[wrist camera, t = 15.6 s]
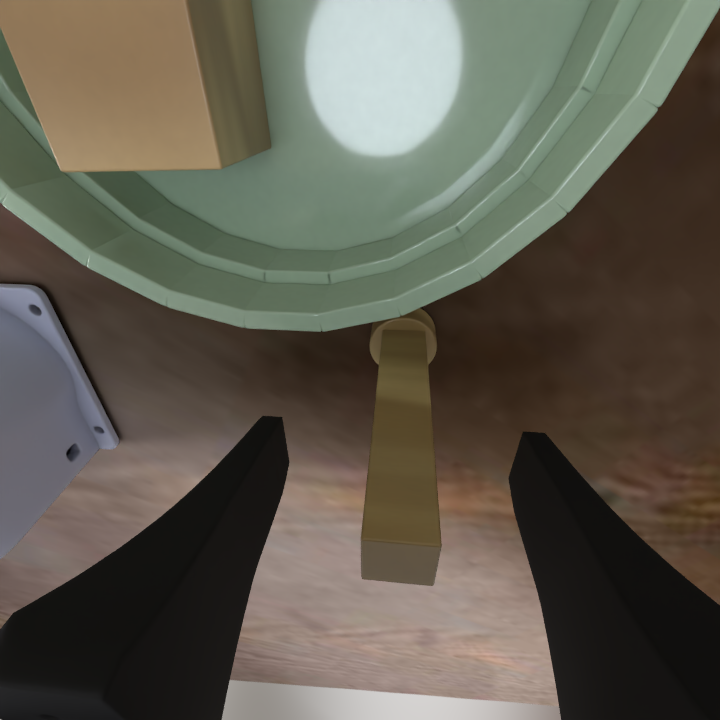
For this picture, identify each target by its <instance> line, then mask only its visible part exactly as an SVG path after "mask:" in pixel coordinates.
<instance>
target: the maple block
mask: <svg viewBox="0 0 720 720" xmlns="http://www.w3.org/2000/svg"><path fill="white" fill-rule="evenodd" d="M0 28H1V30H2V33H3V35H4V38H5V40H6V42H7V45H8V47H9V49H10V52H11V54H12V57H13V59H14V61H15V64H16V66H17V68H18V71H19V73H20V76H21V78H22V80H23V83H24V85H25V88H26V90H27V92H28V95H29V97H30V99H31V102H32V104H33V107H34V109H35V111H36V114H37V116H38V118H39V121H40V123H41V126H42V128H43V130H44V133H45V135H46V137H47V140H48V142H49V145H50V147H51V149H52V152H53V154H54V157H55V159H56V161H57V164H58V166H59V168H60V170H61V171H62V172H117V171H173V170H221V169H223V168H226V167H228V166H230V165H233V164H235V163H238V162H240V161H242V160H245V159H247V158H250V157H252V156H254V155H257V154H259V153H261V152H264V151H266V150H269V149H271V141H270V133H269V126H268V119H267V112H266V105H265V98H264V90H263V83H262V76H261V69H260V62H259V55H258V47H257V40H256V33H255V26H254V19H253V12H252V4H251V0H0Z"/></svg>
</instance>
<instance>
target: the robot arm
mask: <svg viewBox="0 0 720 720" xmlns="http://www.w3.org/2000/svg"><path fill="white" fill-rule="evenodd" d="M38 307H39V308H40V309H39V308H38ZM118 444H119V438H118V437H117V435H116V433H115V431H114V429H113V427H112V425H111V423H110V421H109V419H108V417H107V415H106V413H105V411H104V409H103V407H102V405H101V403H100V401H99V399H98V397H97V395H96V393H95V391H94V389H93V387H92V385H91V383H90V381H89V379H88V377H87V375H86V373H85V371H84V369H83V367H82V365H81V363H80V361H79V359H78V357H77V355H76V353H75V351H74V349H73V347H72V345H71V343H70V341H69V339H68V337H67V335H66V333H65V331H64V329H63V327H62V325H61V323H60V321H59V319H58V317H57V315H56V313H55V311H54V309H53V307H52V305H51V303H50V301H49V299H48V297H47V295H46V294H45V292H44V291H43V290H41V289H40V288H38V287H36V286H34V285H24V284H0V559H1V558H2V557H4V556H5V555H6V554H7V553H8V552H9V551H10V550H11V549H13V548H14V547H15V545H16V544H17V543H18V542H19V541H20V540H21V539H22V538H23V537H24V536H25V535H26V533H27V532H28V531H29V530H30V529H31V528H32V526H33V525H34V524H35V523H36V522H37V521H38V519H39V518H40V517H41V516H42V515H43V514H44V512H45V511H46V510H47V509H48V508H49V507H50V506H51V504H52V503H53V502H54V501H55V500H56V499H57V497H58V496H59V495H60V494H61V493H62V492H63V490H64V489H65V488H66V487H67V486H68V485H69V483H70V482H71V481H72V480H73V479H74V478H75V477H76V475H77V474H78V473H79V472H80V471H81V470H82V468H83V467H84V466H85V465H86V464H87V463H88V461H89V460H90V459H91V458H92V457H93V456H94V454H95V453H96V452H97V451H98V450H99V449H114V448H116V446H117V445H118ZM288 467H289V457H288V451H287V444H286V438H285V432H284V426H283V420H282V417H273V416H262V417H261V418H260V419H259V420H258V421H257V422H256V423H255V424H254V426H253V427H252V428H251V429H250V430H249V431H248V432H247V434H246V435H245V436H244V437H243V438H242V439H241V440H240V441H239V442H238V444H237V445H236V446H235V447H234V448H233V449H232V450H231V451H230V452H229V453H228V454H227V455H226V456H225V457H224V458H223V460H222V461H221V462H220V463H219V464H218V465H217V466H216V467H215V468H214V469H213V470H212V471H211V472H210V473H209V474H208V475H207V476H206V477H205V478H204V479H203V480H202V481H200V482H199V483H198V484H197V485H196V486H195V487H194V488H193V489H192V490H191V491H190V492H189V493H188V494H187V495H186V496H184V497H183V498H182V499H181V500H180V501H179V502H178V503H177V504H175V505H174V506H173V507H172V508H171V509H169V510H168V511H167V512H166V513H165V514H163V515H162V516H161V517H160V518H159V519H157V520H156V521H155V522H153V523H152V524H151V525H150V526H148V527H147V528H146V529H144V530H143V531H142V532H140V533H139V534H138V535H136V536H135V537H134V538H132V539H131V540H130V541H128V542H127V543H126V544H124V545H123V546H121V547H120V548H119V549H117V550H116V551H114V552H113V553H111V554H110V555H108V556H107V557H105V558H104V559H102V560H101V561H99V562H98V563H96V564H95V565H93V566H92V567H90V568H89V569H87V570H86V571H84V572H82V573H81V574H79V575H78V576H76V577H74V578H73V579H71V580H70V581H68V582H66V583H65V584H63V585H61V586H60V587H58V588H56V589H54V590H53V591H51V592H49V593H47V594H46V595H44V596H42V597H41V598H39V599H37V600H35V601H34V602H32V603H30V604H29V605H27V606H25V607H23V608H21V609H20V610H18V611H16V612H14V613H13V614H12V615H11V617H10V618H9V619H8V620H7V622H6V623H5V624H4V625H3V627H2V628H1V629H0V719H2V720H221V719H222V714H223V709H224V704H225V699H226V693H227V689H228V685H229V680H230V675H231V671H232V666H233V662H234V657H235V652H236V648H237V644H238V639H239V635H240V631H241V627H242V622H243V618H244V614H245V610H246V606H247V602H248V598H249V594H250V590H251V586H252V582H253V578H254V575H255V572H256V568H257V565H258V562H259V559H260V556H261V554H262V551H263V548H264V545H265V542H266V539H267V537H268V534H269V531H270V528H271V525H272V522H273V520H274V517H275V514H276V511H277V508H278V505H279V502H280V499H281V496H282V493H283V489H284V485H285V481H286V476H287V471H288ZM509 483H510V490H511V497H512V502H513V508H514V513H515V516H516V520H517V523H518V527H519V530H520V534H521V537H522V541H523V544H524V547H525V551H526V554H527V557H528V561H529V564H530V568H531V571H532V574H533V578H534V581H535V584H536V588H537V592H538V596H539V600H540V603H541V608H542V613H543V618H544V623H545V628H546V633H547V638H548V643H549V649H550V655H551V660H552V666H553V671H554V677H555V683H556V689H557V695H558V702H559V708H560V714H561V720H720V605H718V604H717V603H716V602H715V601H713V600H712V599H711V598H710V597H708V596H707V595H706V594H705V593H704V592H702V591H701V590H700V589H699V588H697V587H696V586H695V585H694V584H692V583H691V582H690V581H689V580H687V579H686V578H685V577H684V576H683V575H682V574H680V573H679V572H678V571H677V570H676V569H674V568H673V567H672V566H671V565H670V564H669V563H668V562H667V561H665V560H664V559H663V558H662V557H661V556H660V555H659V554H658V553H657V552H655V551H654V550H653V549H652V548H651V547H650V546H649V545H648V544H647V543H645V542H644V541H643V540H642V539H641V538H640V537H639V536H638V535H637V534H636V533H635V532H634V531H633V530H632V529H631V528H630V527H629V526H628V525H627V524H626V523H625V522H624V521H623V520H622V519H621V518H620V517H619V516H618V515H617V514H616V513H615V512H614V511H613V510H612V509H611V508H610V507H609V506H608V505H607V504H606V503H605V502H604V500H603V499H602V498H601V497H600V496H599V495H598V494H597V493H596V492H595V491H594V489H593V488H592V487H591V486H590V485H589V484H588V483H587V482H586V481H585V479H584V478H583V477H582V476H581V475H580V474H579V473H578V471H577V470H576V469H575V468H574V467H573V466H572V464H571V463H570V462H569V461H568V460H567V458H566V457H565V456H564V455H563V454H562V453H561V451H560V450H559V449H558V448H557V447H556V445H555V444H554V443H553V442H552V441H551V440H550V438H549V437H548V436H547V435H546V434H545V433H538V432H523V434H522V437H521V440H520V443H519V446H518V450H517V453H516V456H515V459H514V462H513V465H512V469H511V472H510V475H509Z"/></svg>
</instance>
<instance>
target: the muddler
mask: <svg viewBox="0 0 720 720" xmlns="http://www.w3.org/2000/svg"><path fill="white" fill-rule="evenodd" d="M369 348H370V353H371V355H372V357H373V359H374V361H375V362H376V363H377V364H378V365H379V369H378V379H377V388H376V398H375V407H374V417H373V427H372V436H371V446H370V456H369V465H368V475H367V484H366V494H365V504H364V513H363V523H362V532H361V577H362V579H366V580H376V581H387V582H397V583H407V584H417V585H427V586H433V585H434V582H435V577H436V571H437V566H438V561H439V556H440V551H441V546H442V544H441V531H440V518H439V505H438V491H437V478H436V465H435V451H434V438H433V425H432V412H431V398H430V385H429V372H428V365H429V364H430V362H431V361H432V360H433V358H434V356H435V354H436V351H437V340H436V331H435V325H434V322H433V320H432V319H431V317H430V316H429V315H428V314H427V313H426V312H425V311H424V310H422V309H420V308H418V309H416V310H414V311H412V312H410V313H408V314H405V315H403V316H402V315H401V316H400V317H397V318H392V319H387V320H382V321H376V322H373V325H372V329H371V336H370V343H369Z"/></svg>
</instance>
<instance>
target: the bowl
mask: <svg viewBox="0 0 720 720" xmlns="http://www.w3.org/2000/svg"><path fill="white" fill-rule="evenodd" d="M251 4H252V12H253V19H254V26H255V33H256V40H257V47H258V55H259V62H260V69H261V76H262V83H263V90H264V98H265V105H266V112H267V119H268V126H269V133H270V141H271V149H269V150H266V151H264V152H261V153H259V154H257V155H254V156H252V157H250V158H247V159H245V160H242V161H240V162H238V163H235V164H233V165H230V166H228V167H226V168H223V169H221V170H173V171H117V172H62V171H61V170H60V168H59V166H58V164H57V161H56V159H55V157H54V154H53V152H52V149H51V147H50V145H49V142H48V140H47V137H46V135H45V133H44V130H43V128H42V126H41V123H40V121H39V118H38V116H37V114H36V111H35V109H34V107H33V104H32V102H31V99H30V97H29V95H28V92H27V90H26V88H25V85H24V83H23V80H22V78H21V76H20V73H19V71H18V68H17V66H16V64H15V61H14V59H13V57H12V54H11V52H10V49H9V47H8V45H7V42H6V40H5V38H4V35H3V33H2V30H1V28H0V203H2V205H3V206H4V207H5V208H7V209H8V210H9V211H11V212H12V213H13V214H15V215H16V216H17V217H19V218H20V219H22V220H23V221H24V222H26V223H27V224H28V225H30V226H31V227H32V228H34V229H35V230H36V231H38V232H39V233H40V234H42V235H43V236H45V237H46V238H47V239H49V240H50V241H51V242H53V243H54V244H55V245H57V246H58V247H59V248H61V249H62V250H64V251H65V252H66V253H68V254H69V255H70V256H72V257H73V258H74V259H76V260H77V261H78V262H80V263H81V264H82V265H84V266H87V267H88V268H89V269H91V270H93V271H95V272H97V273H99V274H101V275H103V276H105V277H107V278H109V279H111V280H113V281H115V282H117V283H119V284H121V285H123V286H125V287H127V288H129V289H131V290H133V291H135V292H137V293H139V294H141V295H143V296H145V297H147V298H149V299H151V300H153V301H155V302H157V303H159V304H161V305H163V306H167V307H168V308H171V309H175V310H179V311H183V312H186V313H190V314H194V315H197V316H201V317H205V318H208V319H212V320H216V321H219V322H223V323H227V324H230V325H234V326H238V327H242V328H244V327H245V328H248V329H271V330H293V331H316V332H320V331H323V332H325V331H330V330H335V329H340V328H345V327H351V326H356V325H361V324H366V323H371V322H376V321H382V320H387V319H392V318H397V317H400V316H401V315H402V316H403V315H405V314H408V313H410V312H412V311H414V310H416V309H418V308H421V307H423V306H425V305H427V304H429V303H432V302H434V301H436V300H438V299H440V298H443V297H445V296H447V295H449V294H451V293H453V292H456V291H458V290H460V289H462V288H464V287H467V286H469V285H471V284H473V283H475V282H478V281H480V280H481V277H482V278H485V277H486V276H487V275H489V274H490V273H491V272H493V271H494V270H495V269H497V268H498V267H499V266H500V265H502V264H503V263H504V262H506V261H507V260H508V259H510V258H511V257H512V256H514V255H515V254H516V253H517V252H519V251H520V250H521V249H523V248H524V247H525V246H527V245H528V244H529V243H531V242H532V241H533V240H534V239H536V238H537V237H538V236H540V235H541V234H542V233H544V232H545V231H546V230H548V229H549V228H550V227H552V226H553V225H554V224H555V223H557V222H558V221H559V220H561V219H562V218H563V217H565V216H566V214H567V212H570V211H571V210H572V209H573V208H574V206H575V205H576V204H577V203H578V202H579V201H580V200H581V198H582V197H583V196H584V195H585V194H586V193H587V192H588V190H589V189H590V188H591V187H592V186H593V185H594V183H595V182H596V181H597V180H598V179H599V178H600V177H601V175H602V174H603V173H604V172H605V171H606V170H607V169H608V167H609V166H610V165H611V164H612V163H613V162H614V161H615V159H616V158H617V157H618V156H619V155H620V154H621V152H622V151H623V150H624V149H625V148H626V147H627V146H628V144H629V143H630V142H631V141H632V140H633V139H634V138H635V136H636V135H637V134H638V133H639V132H640V131H641V130H642V128H643V127H644V126H645V125H646V124H647V123H648V121H649V120H650V119H651V118H652V117H653V116H654V115H655V113H656V112H657V110H658V109H657V107H660V106H661V105H662V104H663V102H664V101H665V99H666V97H667V96H668V94H669V92H670V91H671V89H672V87H673V86H674V84H675V82H676V81H677V79H678V77H679V75H680V74H681V72H682V70H683V69H684V67H685V65H686V64H687V62H688V60H689V59H690V57H691V55H692V54H693V52H694V50H695V49H696V47H697V45H698V44H699V42H700V40H701V39H702V37H703V35H704V34H705V32H706V30H707V29H708V27H709V25H710V24H711V22H712V20H713V18H714V17H715V15H716V13H717V12H718V10H719V8H720V0H251Z"/></svg>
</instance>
